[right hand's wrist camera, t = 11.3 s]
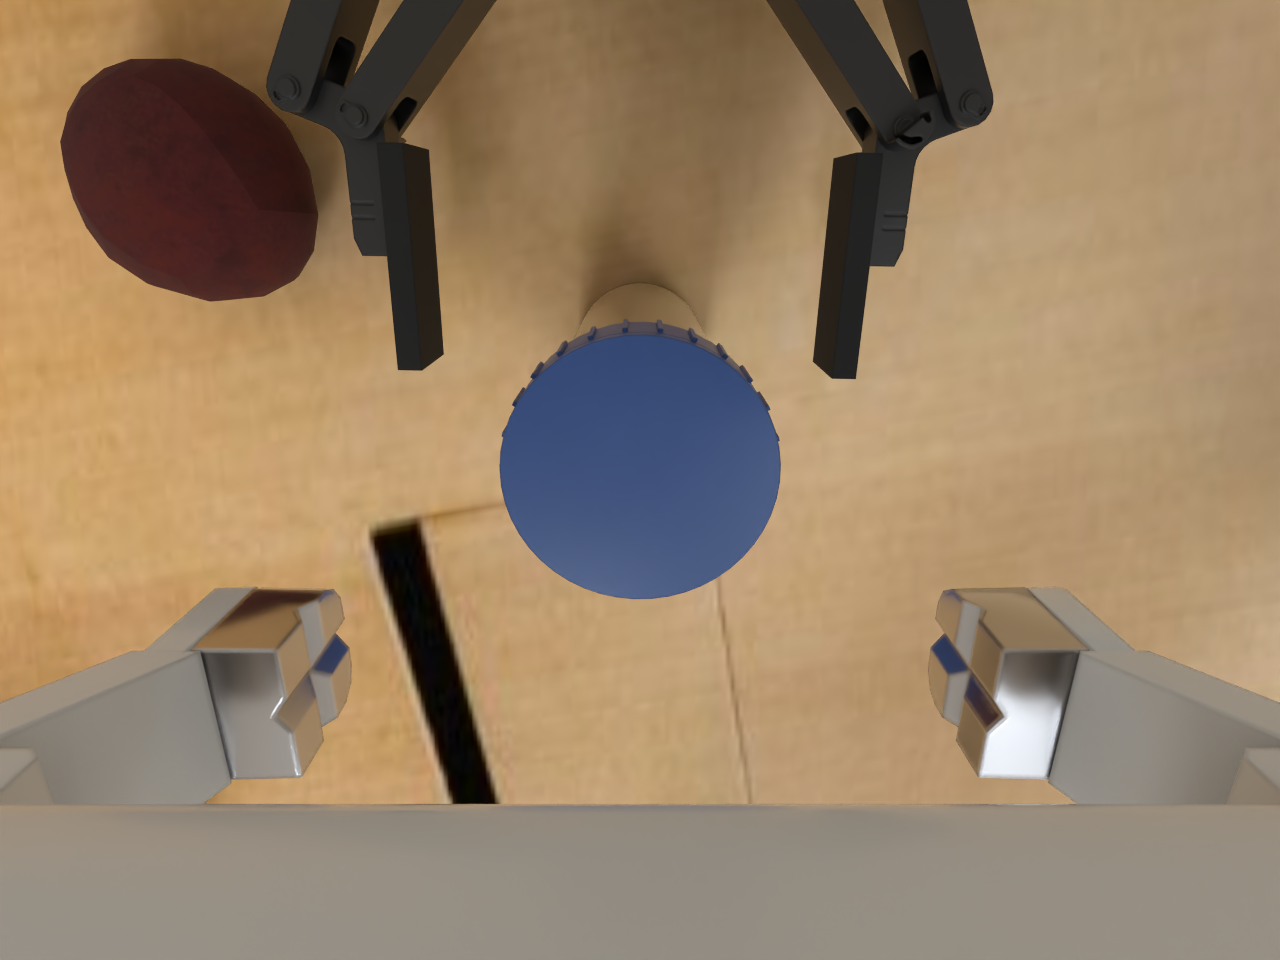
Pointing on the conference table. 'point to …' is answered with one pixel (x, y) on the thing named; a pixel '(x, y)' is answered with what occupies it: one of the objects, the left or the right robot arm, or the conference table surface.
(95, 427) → the conference table surface
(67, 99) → the conference table surface
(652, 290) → the jar
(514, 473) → the lid
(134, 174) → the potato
